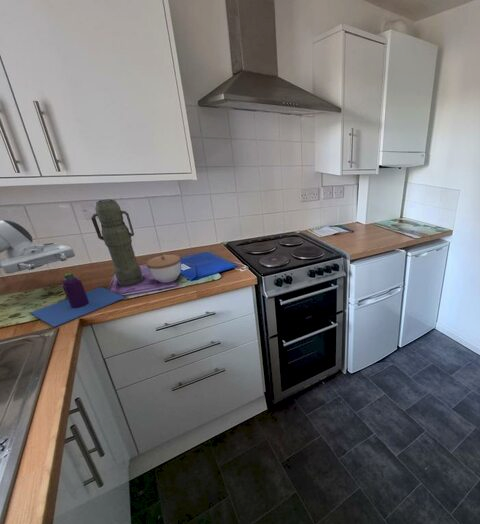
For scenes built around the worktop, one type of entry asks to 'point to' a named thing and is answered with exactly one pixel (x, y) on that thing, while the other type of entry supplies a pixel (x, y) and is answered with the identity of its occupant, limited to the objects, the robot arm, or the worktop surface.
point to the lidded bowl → (164, 268)
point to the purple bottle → (74, 291)
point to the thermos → (118, 241)
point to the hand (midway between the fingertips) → (48, 262)
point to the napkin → (66, 313)
